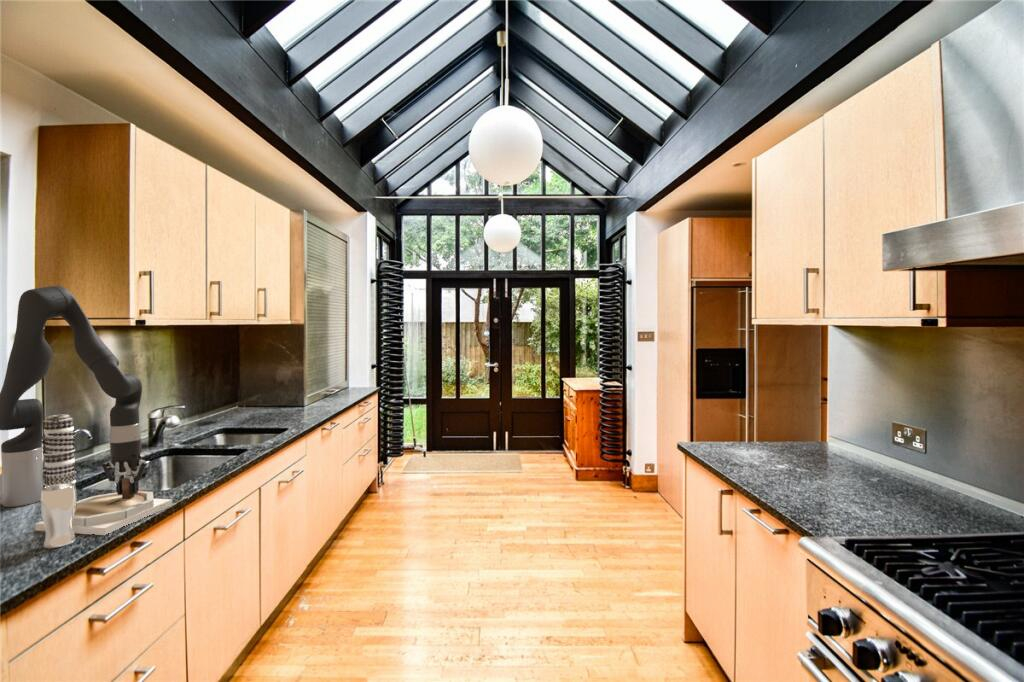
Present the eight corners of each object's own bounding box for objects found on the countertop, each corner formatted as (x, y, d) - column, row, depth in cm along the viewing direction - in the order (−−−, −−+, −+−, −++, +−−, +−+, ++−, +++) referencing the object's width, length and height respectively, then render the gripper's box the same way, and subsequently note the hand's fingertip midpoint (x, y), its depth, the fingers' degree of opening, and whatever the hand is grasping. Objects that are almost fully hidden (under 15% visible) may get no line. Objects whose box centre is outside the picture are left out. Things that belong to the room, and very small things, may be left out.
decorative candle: (84, 480, 177) (83, 413, 176) (57, 489, 168) (55, 418, 167) (63, 479, 179) (61, 412, 178) (35, 487, 169) (33, 417, 169)
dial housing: (35, 530, 134) (35, 515, 134) (111, 502, 156) (111, 488, 156) (104, 535, 131) (104, 519, 131) (172, 505, 153) (171, 492, 153)
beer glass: (57, 537, 129) (55, 482, 129) (84, 537, 130) (83, 482, 130) (33, 549, 122) (32, 491, 122) (63, 548, 123) (61, 490, 123)
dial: (105, 522, 134) (105, 496, 134) (52, 519, 136) (52, 493, 136) (158, 500, 151) (157, 477, 150) (110, 498, 153) (110, 474, 153)
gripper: (92, 442, 145) (94, 498, 146) (139, 441, 145) (141, 497, 146) (112, 436, 153) (114, 490, 153) (157, 435, 153) (159, 489, 153)
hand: (127, 493), depth 150 cm, fingers closed on dial, 3 cm apart
